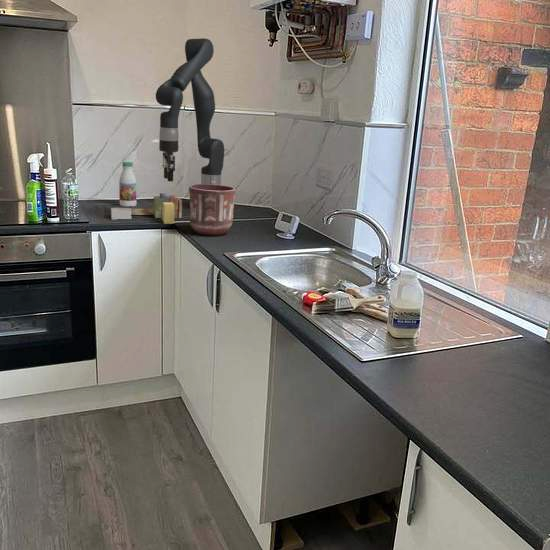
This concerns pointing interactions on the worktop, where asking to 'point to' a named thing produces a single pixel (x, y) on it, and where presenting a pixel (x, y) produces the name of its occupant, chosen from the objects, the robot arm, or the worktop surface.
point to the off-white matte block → (121, 213)
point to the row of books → (161, 206)
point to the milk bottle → (127, 186)
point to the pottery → (211, 208)
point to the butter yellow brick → (168, 213)
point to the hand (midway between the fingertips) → (168, 179)
